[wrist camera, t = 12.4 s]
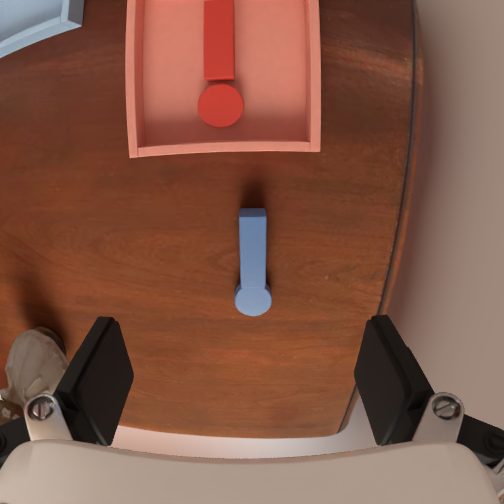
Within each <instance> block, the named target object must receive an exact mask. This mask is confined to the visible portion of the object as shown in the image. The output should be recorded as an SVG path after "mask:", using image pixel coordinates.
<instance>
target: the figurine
mask: <svg viewBox="0 0 504 504" xmlns="http://www.w3.org/2000/svg"><path fill="white" fill-rule="evenodd" d="M68 366H69V362H68V360H67V358H66V352H65V348H64V344H63V341H62V339H61V338H60V337H59V336H58V335H57V334H56V333H55V332H53V331H52V330H51V329H50V328H47V327H44V326H41V327H37V328H35V329H34V330H26V331H25V332H23V333H22V334H20V335H19V336H18V337H17V338H16V339H15V340H14V342H13V345H12V347H11V350H10V352H9V356H8V361H7V364H6V367H5V371H6V374H7V376H8V383H9V387H8V388H6V389H1V390H0V395H1V398H2V399H3V400H4V401H3V400H0V425H2V424H5V423H7V422H9V421H12V420H14V419H16V418H19V417H21V416H23V415H24V406H25V404H26V402H27V401H28V400H29V399H30V398H31V397H32V396H34V395H36V394H40V393H48V394H51V395H53V393H54V391H55V389H56V387H57V386H58V384H59V382H60V380H61V378H62V376H63V375H64V373H65V371H66V369H67V368H68Z"/></svg>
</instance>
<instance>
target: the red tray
mask: <svg viewBox="0 0 504 504" xmlns="http://www.w3.org/2000/svg"><path fill="white" fill-rule="evenodd" d="M204 1H209V0H128V2H127V21H126V108H127V128H128V143H129V156H130V158H134V157H145V156H156V155H169V154H185V153H203V152H231V151H307V152H309V151H311V152H320V137H321V53H320V21H319V0H233V1H234V7H235V80H234V81H213V82H208V81H207V80H205V79H204V61H203V23H204ZM215 84H228V85H230V86H233V87H234V88H236V89H237V90H238V91H239V93H240V94H241V96H242V98H243V101H244V110H243V113H242V115H241V117H240V118H239V119H238V121H236V122H235V123H234V124H232V125H230V126H227V127H222V128H218V127H213V126H210V125H208V124H207V123H205V122H204V121H203V120H202V118H201V117H200V115H199V112H198V100H199V97H200V95H201V94H202V92H203V91H204V90H205V89H207V88H208V87H210V86H212V85H215Z"/></svg>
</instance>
